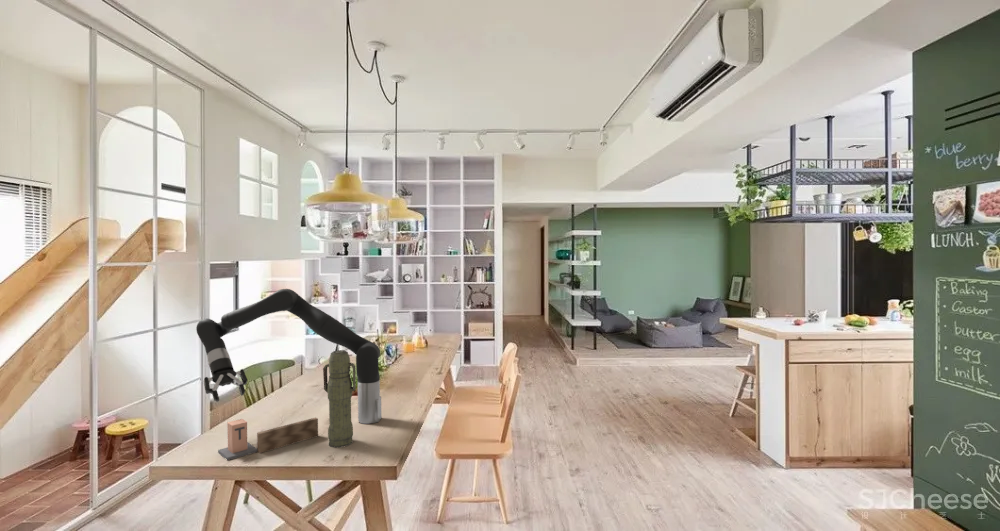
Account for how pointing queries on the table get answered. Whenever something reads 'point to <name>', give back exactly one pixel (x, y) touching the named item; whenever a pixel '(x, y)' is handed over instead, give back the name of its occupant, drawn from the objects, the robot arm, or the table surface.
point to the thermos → (339, 398)
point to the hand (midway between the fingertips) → (230, 397)
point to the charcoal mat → (229, 455)
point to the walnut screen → (287, 434)
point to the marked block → (237, 435)
